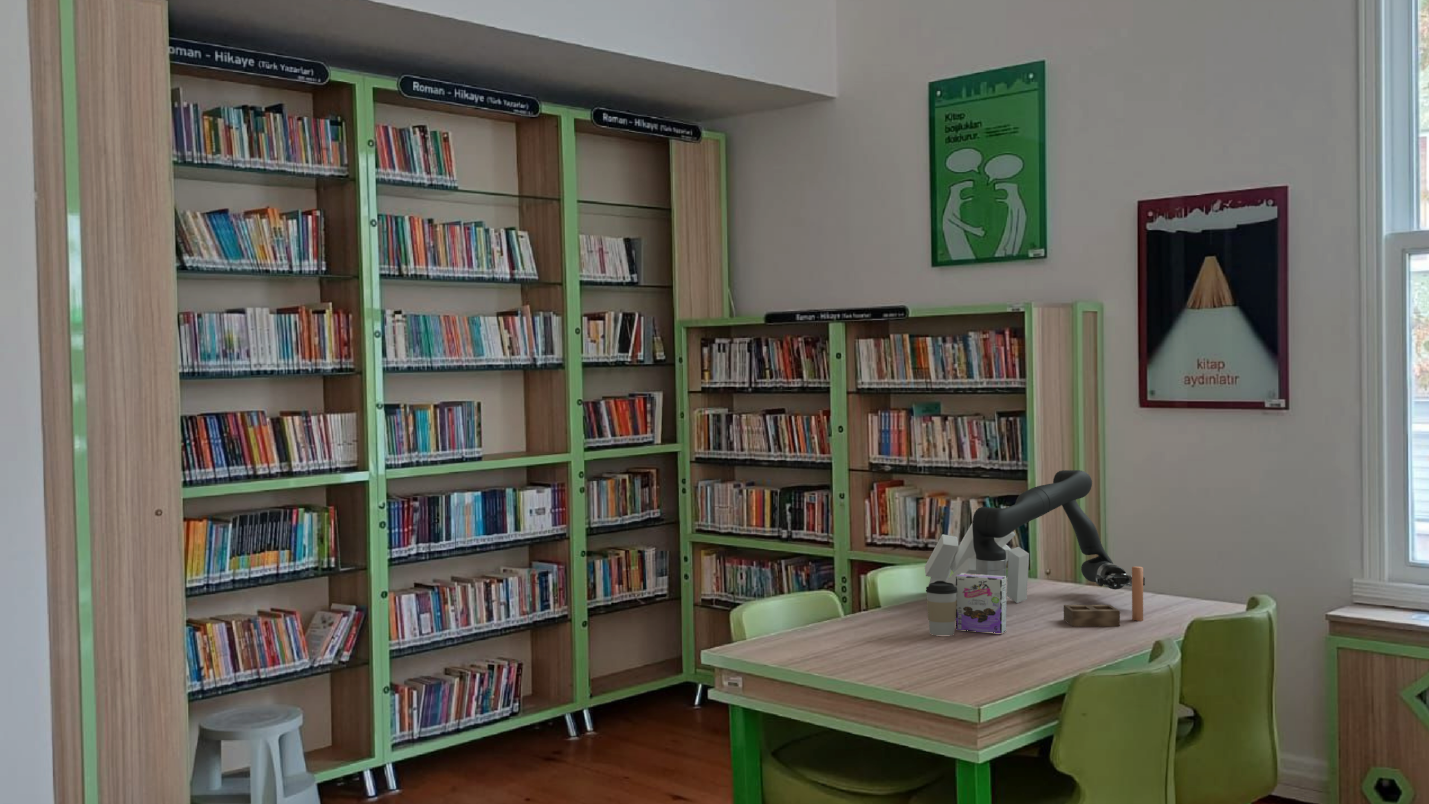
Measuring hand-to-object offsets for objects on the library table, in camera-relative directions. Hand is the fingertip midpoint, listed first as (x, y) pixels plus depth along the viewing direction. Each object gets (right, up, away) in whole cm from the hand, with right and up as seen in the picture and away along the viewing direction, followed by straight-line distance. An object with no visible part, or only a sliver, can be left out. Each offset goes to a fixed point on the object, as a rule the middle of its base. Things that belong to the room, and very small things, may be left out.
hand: (1126, 584), depth 391 cm
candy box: (-51, -10, -24) cm, 57 cm away
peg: (0, -9, -11) cm, 14 cm away
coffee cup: (-63, -11, -28) cm, 69 cm away
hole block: (-15, -10, -14) cm, 23 cm away
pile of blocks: (-42, -9, +24) cm, 49 cm away
